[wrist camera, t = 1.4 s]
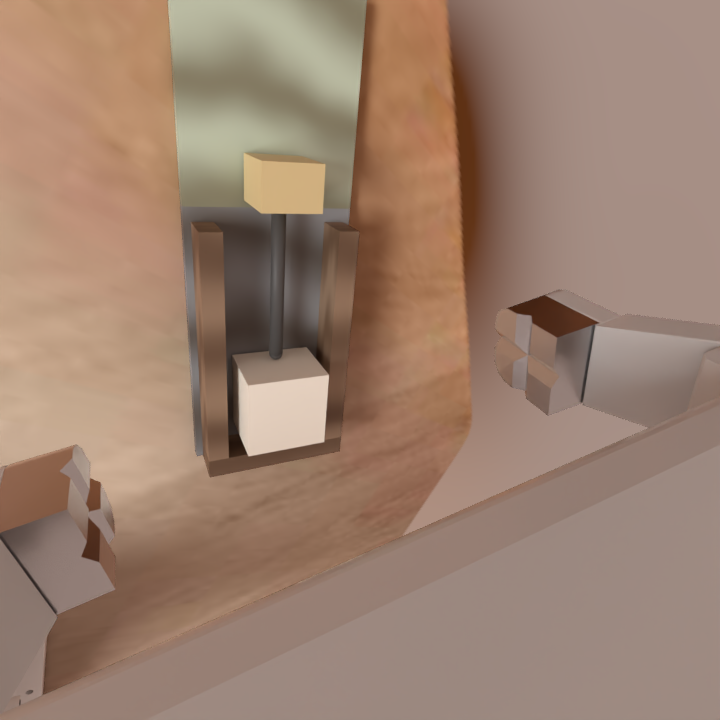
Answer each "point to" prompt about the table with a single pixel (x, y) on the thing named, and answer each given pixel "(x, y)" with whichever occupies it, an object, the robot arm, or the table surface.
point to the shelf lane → (243, 222)
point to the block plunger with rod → (280, 321)
